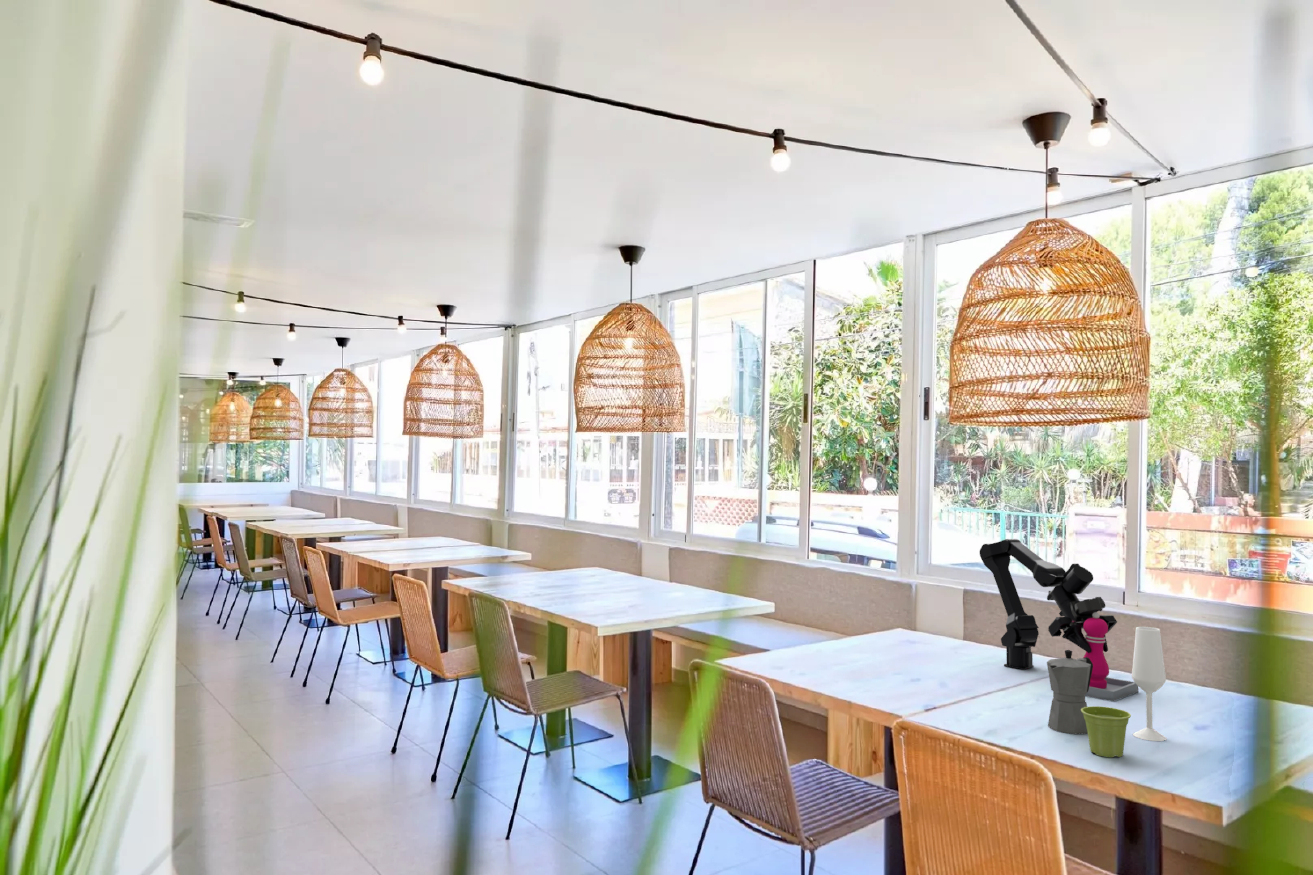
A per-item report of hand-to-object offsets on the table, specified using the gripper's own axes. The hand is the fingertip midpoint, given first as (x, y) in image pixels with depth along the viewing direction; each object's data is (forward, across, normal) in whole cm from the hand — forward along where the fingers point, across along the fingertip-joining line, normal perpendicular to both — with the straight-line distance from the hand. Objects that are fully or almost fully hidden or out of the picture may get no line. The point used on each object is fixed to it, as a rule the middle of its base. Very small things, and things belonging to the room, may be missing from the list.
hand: (1098, 651), depth 236 cm
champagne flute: (+33, -19, -18) cm, 42 cm away
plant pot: (+38, -38, -24) cm, 59 cm away
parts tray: (+7, 0, +8) cm, 11 cm away
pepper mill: (+6, 0, +8) cm, 10 cm away
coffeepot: (+26, -31, -11) cm, 42 cm away
